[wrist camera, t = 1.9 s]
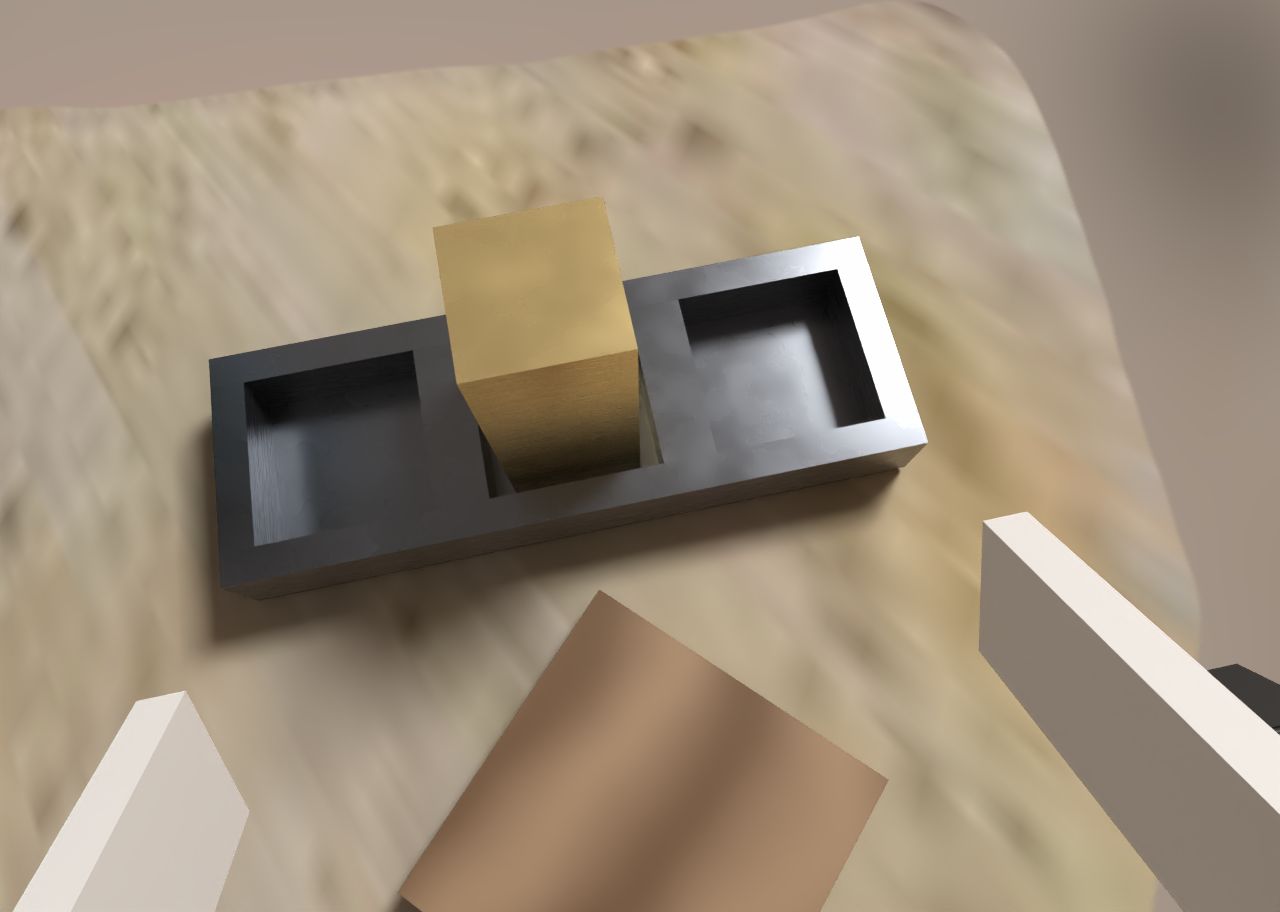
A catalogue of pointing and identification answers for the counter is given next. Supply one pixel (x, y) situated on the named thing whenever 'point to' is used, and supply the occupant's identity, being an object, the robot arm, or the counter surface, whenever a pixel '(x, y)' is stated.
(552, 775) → the coaster
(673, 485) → the compartment tray
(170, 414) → the counter surface
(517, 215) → the golden rectangular block
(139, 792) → the robot arm
